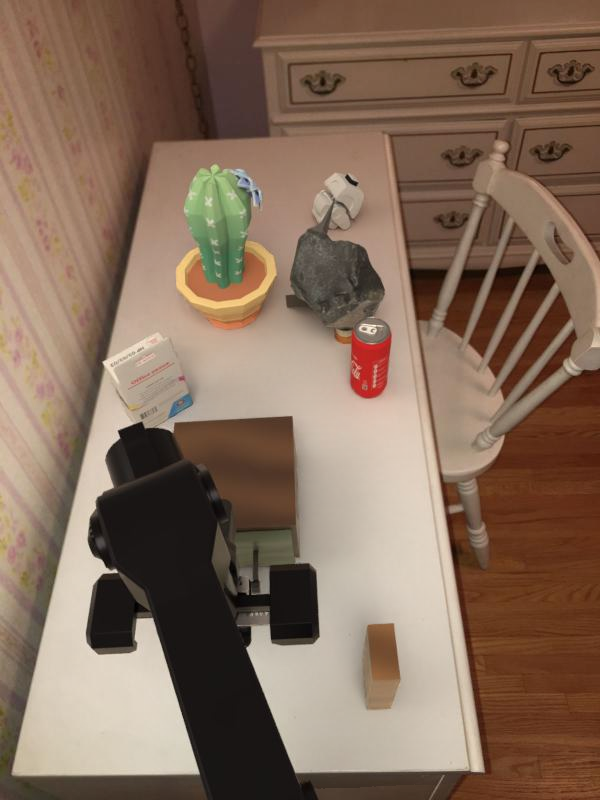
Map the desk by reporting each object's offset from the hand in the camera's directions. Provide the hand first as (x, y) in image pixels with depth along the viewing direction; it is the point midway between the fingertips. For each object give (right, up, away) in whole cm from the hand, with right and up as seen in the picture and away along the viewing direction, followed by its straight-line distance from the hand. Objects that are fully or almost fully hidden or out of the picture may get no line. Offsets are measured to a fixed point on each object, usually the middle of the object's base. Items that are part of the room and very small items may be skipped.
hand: (220, 636), depth 60 cm
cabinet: (0, +9, +22) cm, 24 cm away
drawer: (0, +6, +19) cm, 20 cm away
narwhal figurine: (+13, +33, +40) cm, 54 cm away
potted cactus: (-3, +37, +43) cm, 57 cm away
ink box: (-13, +21, +32) cm, 40 cm away
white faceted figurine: (+14, +54, +54) cm, 78 cm away
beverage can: (+17, +24, +33) cm, 44 cm away
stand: (+16, -8, +9) cm, 20 cm away
